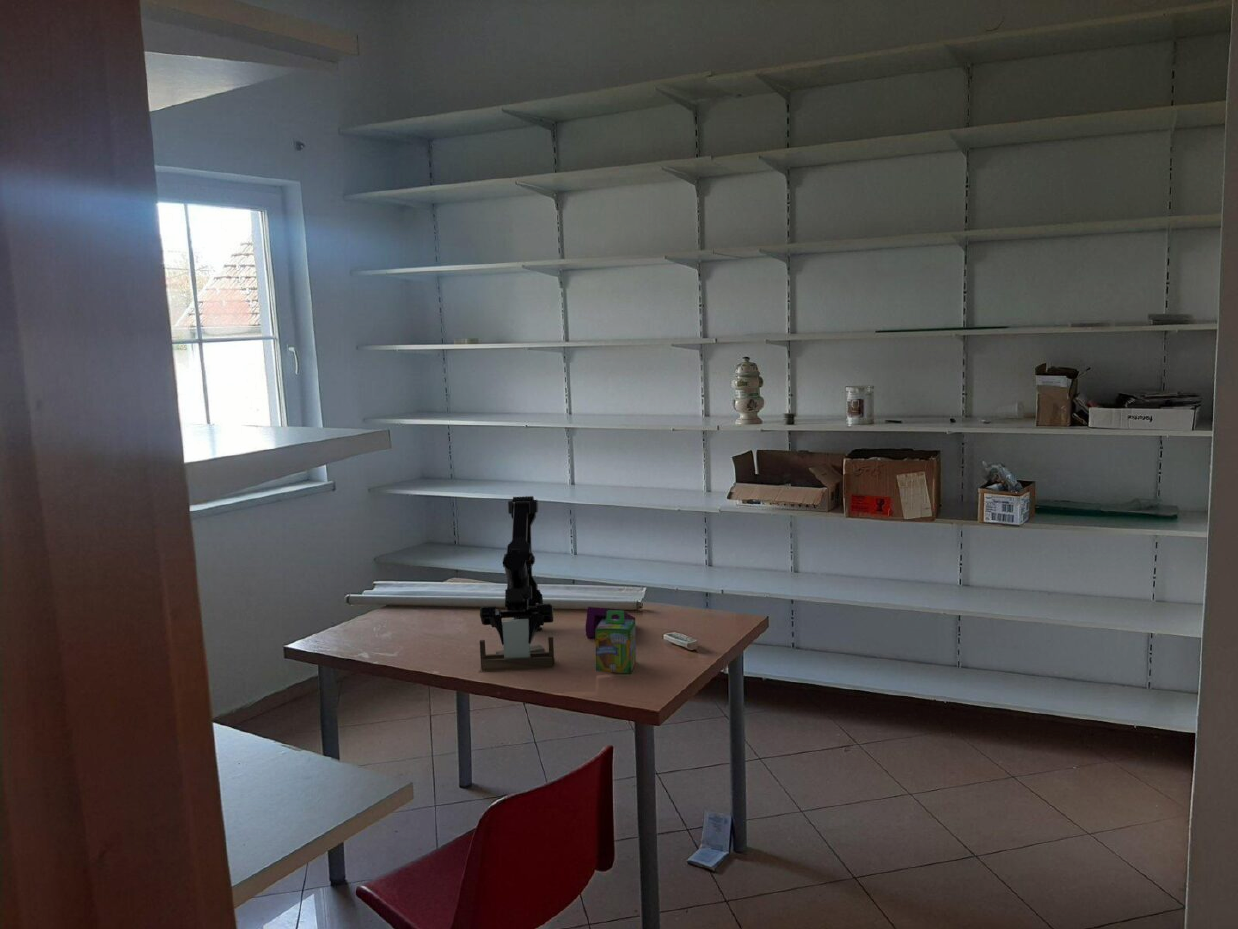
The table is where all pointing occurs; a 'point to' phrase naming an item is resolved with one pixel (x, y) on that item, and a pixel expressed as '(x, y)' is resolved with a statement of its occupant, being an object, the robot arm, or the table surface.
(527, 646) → the sage panel
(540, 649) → the upper offcut
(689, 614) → the table surface
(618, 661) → the chalk box
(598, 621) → the mounting bracket
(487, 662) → the walnut rack
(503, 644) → the robot arm
